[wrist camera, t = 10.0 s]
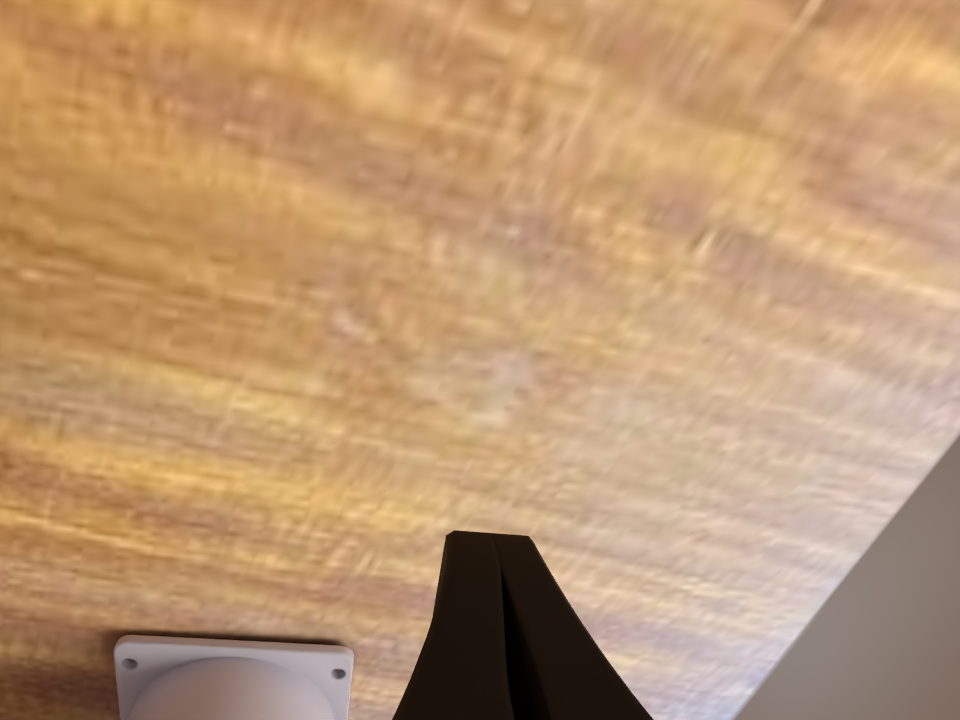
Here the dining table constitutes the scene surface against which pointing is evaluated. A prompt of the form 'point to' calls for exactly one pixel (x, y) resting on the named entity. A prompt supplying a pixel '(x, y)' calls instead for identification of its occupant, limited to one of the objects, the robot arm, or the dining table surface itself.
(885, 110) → the dining table surface
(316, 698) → the robot arm
